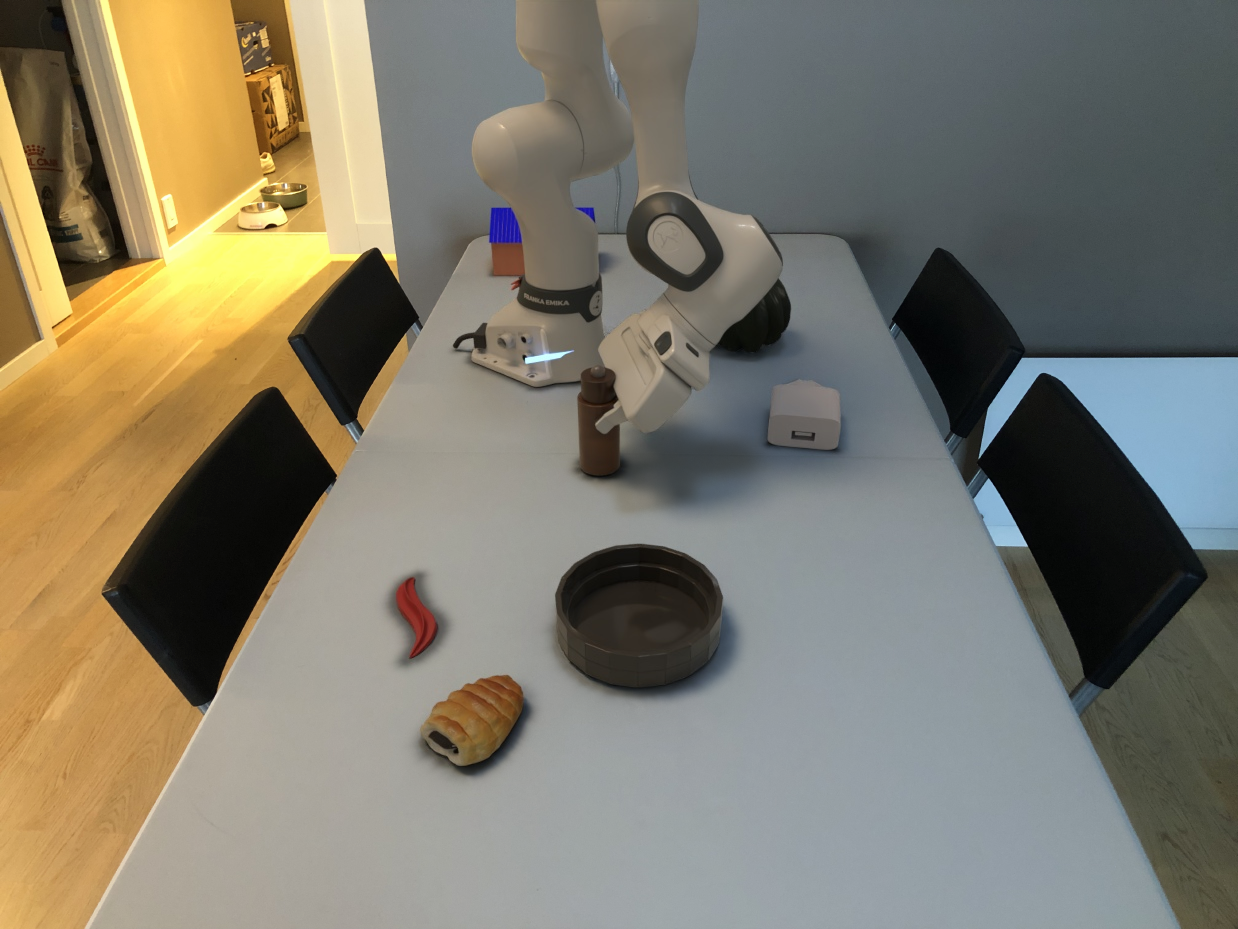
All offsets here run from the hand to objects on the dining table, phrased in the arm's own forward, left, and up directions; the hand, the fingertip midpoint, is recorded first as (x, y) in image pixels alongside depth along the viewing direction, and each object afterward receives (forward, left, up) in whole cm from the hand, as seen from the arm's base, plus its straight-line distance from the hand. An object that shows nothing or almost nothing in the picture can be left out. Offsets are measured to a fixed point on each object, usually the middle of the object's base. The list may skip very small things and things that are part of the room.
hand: (593, 415), depth 107 cm
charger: (+20, +24, -8) cm, 32 cm away
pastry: (+12, -42, -8) cm, 44 cm away
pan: (+19, -24, -8) cm, 31 cm away
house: (-46, +60, -8) cm, 77 cm away
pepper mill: (0, 0, -7) cm, 7 cm away
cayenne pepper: (-2, -33, -8) cm, 34 cm away
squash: (+3, +44, -8) cm, 45 cm away
